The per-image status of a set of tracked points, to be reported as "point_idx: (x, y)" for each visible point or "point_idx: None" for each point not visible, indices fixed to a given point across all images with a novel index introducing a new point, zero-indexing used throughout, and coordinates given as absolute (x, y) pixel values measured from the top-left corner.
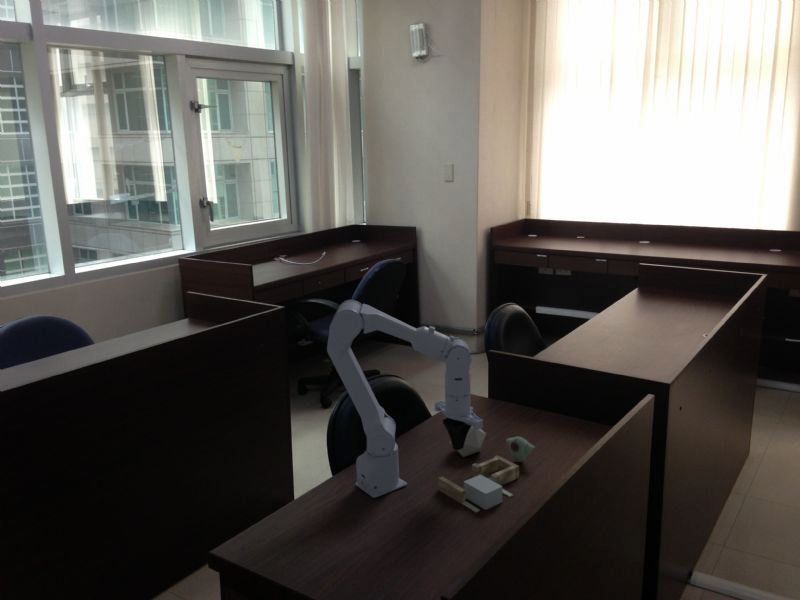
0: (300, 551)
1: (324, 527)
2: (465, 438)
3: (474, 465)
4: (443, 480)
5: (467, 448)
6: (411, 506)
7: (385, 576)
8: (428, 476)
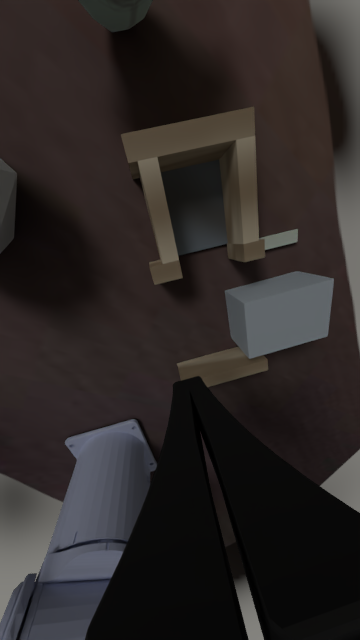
0: (227, 522)
1: None
2: (224, 409)
3: (165, 280)
4: None
5: (4, 230)
6: None
7: (317, 468)
8: (111, 372)
